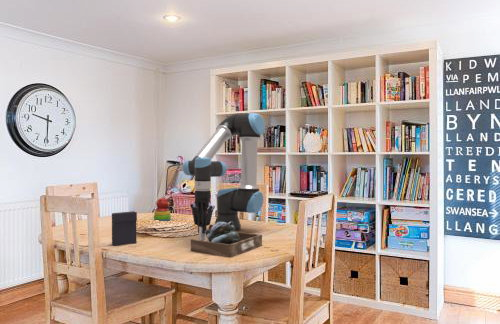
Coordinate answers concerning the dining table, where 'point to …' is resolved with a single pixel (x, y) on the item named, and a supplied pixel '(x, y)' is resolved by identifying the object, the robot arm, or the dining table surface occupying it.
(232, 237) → the dark grey rounded lump
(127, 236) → the upright charcoal panel
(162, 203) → the stacking bear
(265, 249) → the dining table surface
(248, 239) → the labelled bay
